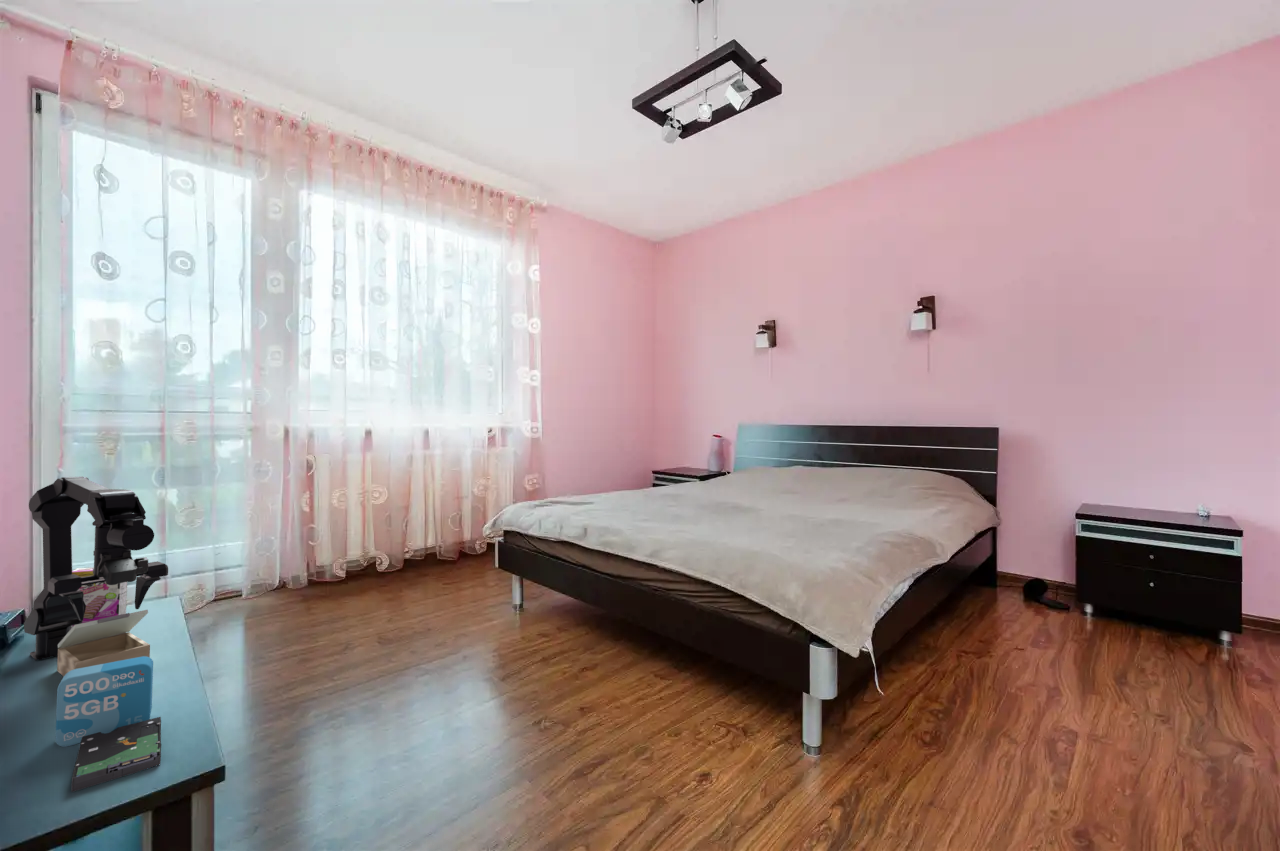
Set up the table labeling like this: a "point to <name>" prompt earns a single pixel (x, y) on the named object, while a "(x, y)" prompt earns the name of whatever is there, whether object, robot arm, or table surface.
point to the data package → (103, 698)
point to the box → (101, 652)
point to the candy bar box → (102, 597)
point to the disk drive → (117, 753)
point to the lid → (101, 628)
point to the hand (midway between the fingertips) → (110, 614)
